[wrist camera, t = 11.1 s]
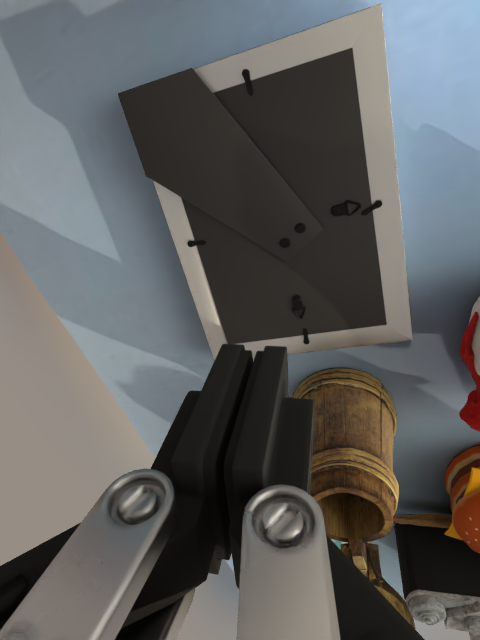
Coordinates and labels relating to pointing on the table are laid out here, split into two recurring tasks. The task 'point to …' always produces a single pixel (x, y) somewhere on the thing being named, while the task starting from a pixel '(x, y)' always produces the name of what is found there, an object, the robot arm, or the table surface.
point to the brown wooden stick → (425, 520)
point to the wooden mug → (355, 466)
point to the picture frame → (284, 188)
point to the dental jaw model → (472, 367)
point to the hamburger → (465, 497)
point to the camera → (439, 577)
